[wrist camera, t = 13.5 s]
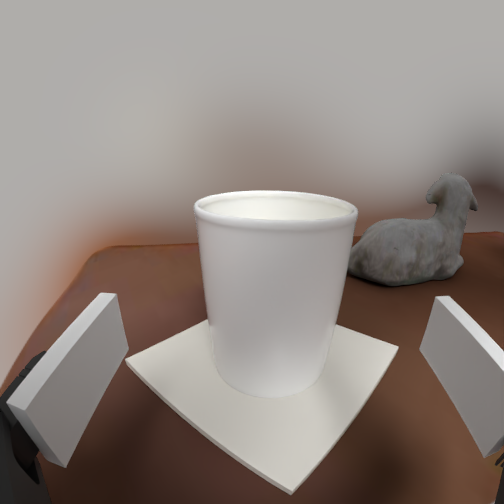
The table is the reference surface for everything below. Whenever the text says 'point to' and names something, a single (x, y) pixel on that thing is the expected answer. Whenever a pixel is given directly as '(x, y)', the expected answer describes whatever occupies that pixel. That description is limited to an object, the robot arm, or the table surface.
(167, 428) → the table surface
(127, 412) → the table surface
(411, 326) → the table surface
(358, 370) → the tile
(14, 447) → the robot arm
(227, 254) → the candle holder
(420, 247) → the sculpture
